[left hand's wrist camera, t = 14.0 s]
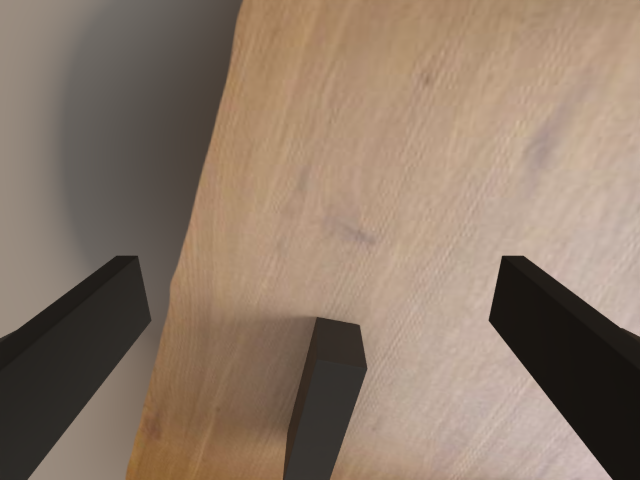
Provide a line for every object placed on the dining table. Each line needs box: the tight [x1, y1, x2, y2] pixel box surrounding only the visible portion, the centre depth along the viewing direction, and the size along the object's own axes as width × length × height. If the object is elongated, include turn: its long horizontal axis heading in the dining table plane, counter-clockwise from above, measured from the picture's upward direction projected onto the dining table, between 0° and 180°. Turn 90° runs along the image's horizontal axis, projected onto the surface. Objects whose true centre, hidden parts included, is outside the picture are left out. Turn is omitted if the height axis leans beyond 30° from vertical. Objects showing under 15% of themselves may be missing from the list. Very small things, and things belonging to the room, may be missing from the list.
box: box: [283, 317, 367, 480], centre depth 49 cm, size 23×6×9 cm, turn 168°
